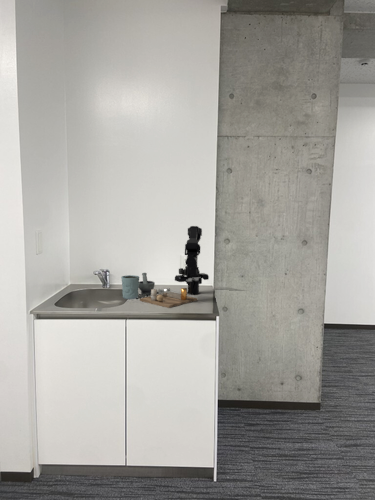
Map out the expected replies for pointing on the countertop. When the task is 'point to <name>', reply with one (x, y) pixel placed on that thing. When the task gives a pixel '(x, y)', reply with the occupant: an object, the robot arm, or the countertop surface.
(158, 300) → the dough ball
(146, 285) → the mortar and pestle
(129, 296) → the teal ceramic pot
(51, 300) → the countertop surface
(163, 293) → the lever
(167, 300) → the board
